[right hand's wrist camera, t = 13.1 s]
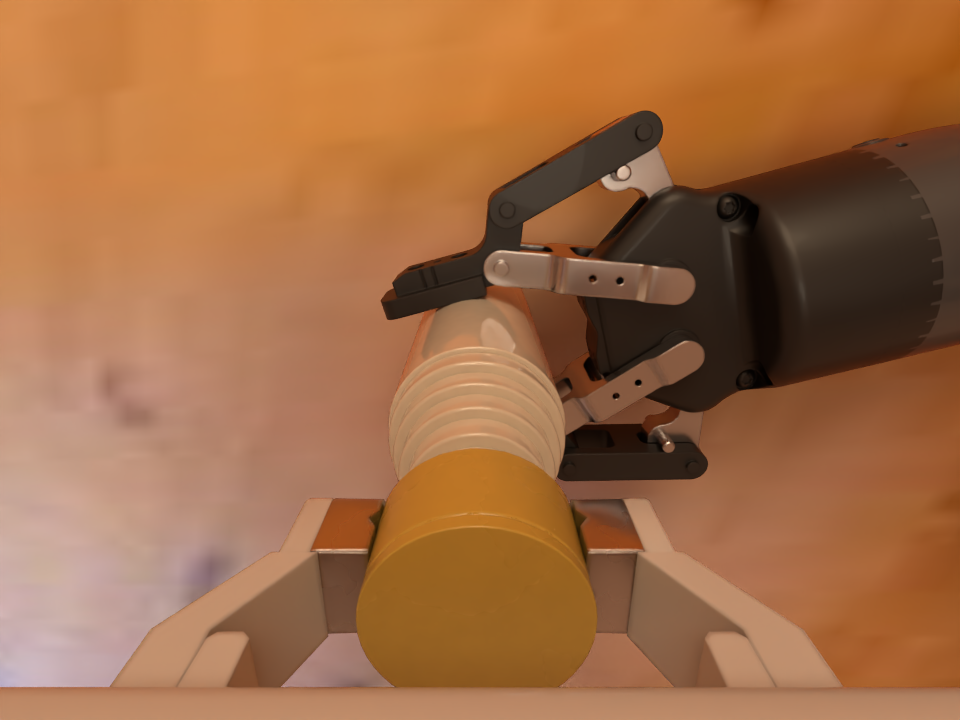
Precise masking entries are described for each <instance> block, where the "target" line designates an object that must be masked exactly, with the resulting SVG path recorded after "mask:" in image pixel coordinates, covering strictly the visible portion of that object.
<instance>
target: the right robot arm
mask: <svg viewBox="0 0 960 720" xmlns="http://www.w3.org/2000/svg"><path fill="white" fill-rule="evenodd" d="M385 503H386V502H385V500H384V499H347V498H335V499H333V498H310V499H308V500H307V501H306V502H305V503H304V505H303V507H302V509H301V511H300V513H299V515H298V517H297V519H296V521H295V522H294V524H293V526H292V528H291V530H290V532H289V534H288V536H287V538H286V540H285V542H284V543H283V545H282V547H281V549H280V551H279V552H271V553H269V554H267V555H266V556H264V557H263V558H261V559H260V560H258V561H257V562H255V563H253V564H252V565H250V566H249V567H247V568H246V569H244V570H242V571H241V572H239V573H238V574H236V575H235V576H233V577H232V578H230V579H228V580H227V581H225V582H224V583H222V584H221V585H219V586H217V587H216V588H214V589H213V590H211V591H210V592H208V593H207V594H205V595H203V596H202V597H200V598H199V599H197V600H196V601H194V602H192V603H191V604H189V605H188V606H186V607H185V608H183V609H182V610H180V611H178V612H177V613H175V614H174V615H172V616H171V617H169V618H167V619H166V620H164V621H163V622H161V623H160V624H158V625H157V626H155V627H153V628H152V629H151V630H150V631H149V632H148V634H147V635H146V637H145V638H144V639H143V641H142V642H141V644H140V645H139V646H138V648H137V649H136V651H135V652H134V653H133V655H132V656H131V658H130V659H129V660H128V662H127V663H126V665H125V666H124V667H123V669H122V670H121V672H120V673H119V674H118V676H117V677H116V679H115V680H114V681H113V683H112V684H111V686H110V687H0V720H960V687H843V686H842V684H841V683H840V681H839V680H838V679H837V677H836V676H835V674H834V673H833V671H832V670H831V668H830V667H829V666H828V664H827V663H826V661H825V660H824V658H823V657H822V655H821V654H820V653H819V651H818V650H817V648H816V647H815V645H814V644H813V643H812V641H811V640H810V638H809V637H808V635H807V634H806V632H805V631H804V630H803V629H801V628H800V627H798V626H797V625H795V624H794V623H792V622H791V621H789V620H788V619H786V618H785V617H783V616H781V615H780V614H778V613H777V612H775V611H774V610H772V609H771V608H769V607H768V606H766V605H764V604H763V603H761V602H760V601H758V600H757V599H755V598H754V597H752V596H751V595H749V594H747V593H746V592H744V591H743V590H741V589H740V588H738V587H737V586H735V585H734V584H732V583H731V582H729V581H727V580H726V579H724V578H723V577H721V576H720V575H718V574H717V573H715V572H714V571H712V570H710V569H709V568H707V567H706V566H704V565H703V564H701V563H700V562H698V561H697V560H695V559H694V558H692V557H690V556H689V555H687V554H686V553H684V552H676V551H675V549H674V547H673V545H672V544H671V542H670V540H669V538H668V536H667V534H666V532H665V530H664V528H663V526H662V524H661V522H660V520H659V518H658V516H657V514H656V513H655V511H654V509H653V507H652V505H651V503H650V501H649V500H648V499H646V498H625V499H601V500H571V501H570V506H571V510H572V514H573V518H574V522H575V525H576V529H577V533H578V536H579V540H580V544H581V548H582V552H583V556H584V559H585V563H586V567H587V571H588V574H589V578H590V582H591V586H592V590H593V593H594V597H595V601H596V605H597V615H598V620H597V630H596V633H626V634H627V636H628V637H629V638H630V639H631V641H632V642H633V643H634V644H635V645H636V646H637V647H638V648H639V649H640V650H641V651H642V652H643V654H644V655H645V656H646V657H647V658H648V659H649V660H650V661H651V662H652V663H653V664H654V665H655V667H656V668H657V669H658V670H659V671H660V672H661V673H662V674H663V675H664V676H665V677H666V678H667V680H668V681H669V682H670V683H671V684H672V685H673V686H674V687H281V686H282V685H283V684H284V683H285V682H286V681H287V680H288V679H289V677H290V676H291V675H292V674H293V673H294V672H295V671H296V670H297V669H298V668H299V667H300V666H301V665H302V664H303V662H304V661H305V660H306V659H307V658H308V657H309V656H310V655H311V654H312V653H313V652H314V651H315V650H316V649H317V648H318V646H319V645H320V644H321V643H322V642H323V641H324V640H325V639H326V638H327V637H328V634H329V633H357V627H356V607H357V602H358V597H359V594H360V590H361V586H362V584H363V579H364V576H365V572H366V569H367V565H368V562H369V559H370V555H371V552H372V548H373V545H374V541H375V538H376V533H377V529H378V526H379V523H380V520H381V516H382V513H383V509H384V506H385Z"/></svg>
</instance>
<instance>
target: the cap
mask: <svg viewBox="0 0 960 720" xmlns="http://www.w3.org/2000/svg"><path fill="white" fill-rule="evenodd" d="M597 620H598V615H597V605H596V601H595V597H594V593H593V590H592V586H591V582H590V578H589V574H588V571H587V567H586V563H585V559H584V556H583V552H582V548H581V544H580V540H579V536H578V533H577V529H576V525H575V522H574V518H573V514H572V510H571V506H570V504H569V502H568V500H567V498H566V496H565V494H564V493H563V491H562V489H561V488H560V486H559V485H558V484H557V483H556V482H555V481H554V480H553V478H552V477H550V476H549V475H548V474H547V473H546V472H545V471H544V470H542V469H541V468H539V467H538V466H537V465H535V464H534V463H532V462H530V461H528V460H526V459H523V458H521V457H519V456H516V455H513V454H511V453H509V452H505V451H498V450H492V449H479V448H474V449H473V448H470V449H463V450H455V451H451V452H448V453H443V454H439V455H437V456H436V457H433V458H431V459H429V460H427V461H425V462H423V463H421V464H420V465H418V466H416V467H415V468H414V469H412V470H411V471H410V472H408V473H407V474H406V475H405V476H404V477H403V478H402V479H401V480H400V481H399V482H398V484H397V485H396V486H395V487H394V489H393V490H392V492H391V493H390V495H389V497H388V499H387V501H386V503H385V506H384V509H383V513H382V516H381V520H380V523H379V526H378V529H377V533H376V538H375V541H374V545H373V548H372V552H371V555H370V559H369V562H368V565H367V569H366V572H365V576H364V579H363V584H362V586H361V590H360V594H359V597H358V602H357V607H356V627H357V634H358V637H359V640H360V643H361V646H362V648H363V650H364V652H365V654H366V656H367V658H368V659H369V661H370V662H371V664H372V665H373V667H374V668H375V669H376V670H377V671H378V672H379V673H380V674H381V676H382V677H384V678H385V679H386V680H387V681H388V682H390V683H391V684H392V685H393V686H395V687H559V686H560V685H562V684H563V683H564V682H565V681H567V680H568V679H569V678H570V677H571V676H572V675H573V674H574V673H575V672H576V671H577V670H578V668H579V667H580V666H581V665H582V663H583V662H584V660H585V659H586V657H587V655H588V654H589V652H590V649H591V647H592V645H593V642H594V638H595V634H596V630H597Z"/></svg>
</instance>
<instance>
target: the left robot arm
mask: <svg viewBox="0 0 960 720" xmlns="http://www.w3.org/2000/svg"><path fill="white" fill-rule="evenodd" d="M662 134H663V125H662V122H661V120H660V118H659V117H658V116H657V115H656V114H655V113H653V112H651V111H640V112H637V113H634V114H631V115H627V116H624V117H621V118H618V119H616V120H615V121H613V122H611V123H609V124H608V125H606V126H604V127H602V128H601V129H599V130H597V131H596V132H594V133H592V134H590V135H589V136H587V137H585V138H584V139H582V140H580V141H578V142H577V143H575V144H573V145H572V146H570V147H568V148H566V149H565V150H563V151H561V152H560V153H558V154H556V155H554V156H553V157H551V158H549V159H548V160H546V161H544V162H542V163H541V164H539V165H537V166H536V167H534V168H532V169H530V170H529V171H527V172H525V173H523V174H522V175H520V176H518V177H517V178H515V179H513V180H511V181H510V182H508V183H506V184H505V185H503V186H501V187H499V188H498V189H496V190H495V191H493V192H492V193H491V195H490V197H489V199H488V209H487V220H486V231H485V235H484V238H483V240H482V241H481V243H480V244H479V245H478V246H476V247H475V248H473V249H471V250H467V251H464V252H460V253H456V254H453V255H449V256H445V257H442V258H438V259H435V260H431V261H427V262H424V263H420V264H416V265H412V266H409V267H408V268H406V269H405V270H404V271H403V272H401V273H400V274H399V275H398V276H397V277H396V278H395V280H394V281H393V283H392V284H393V287H394V289H391V290H389V291H388V292H387V293H386V294H385V295H384V297H383V298H382V300H381V303H382V306H383V309H384V312H385V314H386V317H387V319H388V320H394V319H398V318H402V317H406V316H410V315H413V314H417V313H421V312H425V311H429V310H432V309H436V308H440V307H444V306H448V305H451V304H453V303H457V302H460V301H465V300H470V299H474V298H478V297H482V296H486V295H487V287H490V286H493V285H496V286H505V287H518V288H530V289H543V290H549V291H552V292H555V293H559V294H565V295H577V299H578V302H579V304H580V306H581V308H582V310H583V311H584V313H585V315H586V317H587V330H586V342H587V346H588V352H587V353H585V354H584V355H582V356H580V357H579V358H577V359H576V360H574V361H572V362H571V363H570V364H569V365H568V366H567V367H566V368H565V370H564V372H563V373H562V374H560V375H559V376H557V377H556V378H554V381H555V384H556V387H557V390H558V392H559V395H560V398H561V401H562V404H563V408H564V412H565V421H566V428H565V436H566V437H565V450H564V455H563V459H562V462H561V465H560V468H559V472H558V475H557V477H558V478H559V479H561V480H563V481H609V480H671V479H695V478H698V477H700V476H701V475H702V474H704V472H705V471H706V469H707V467H708V461H707V459H706V457H705V456H704V455H703V453H702V452H701V450H700V448H699V440H700V433H701V426H702V419H703V412H704V411H706V410H709V409H711V408H713V407H714V406H716V405H717V404H718V403H719V402H721V401H722V400H723V399H725V398H726V397H728V396H730V395H731V394H734V393H736V392H738V391H741V390H747V389H760V388H774V387H781V386H786V385H790V384H794V383H798V382H802V381H807V380H811V379H815V378H819V377H823V376H828V375H832V374H836V373H840V372H845V371H849V370H853V369H857V368H862V367H866V366H870V365H874V364H879V363H883V362H887V361H891V360H896V359H900V358H904V357H908V356H912V355H917V354H921V353H925V352H929V351H933V350H937V349H942V348H946V347H950V346H954V345H958V344H960V124H956V125H949V126H943V127H936V128H931V129H926V130H921V131H917V132H913V133H909V134H905V135H901V136H897V137H894V138H890V139H889V138H884V139H880V138H878V139H874V140H870V141H867V142H864V143H861V144H858V145H855V146H853V147H852V148H851V149H849V150H846V151H842V152H839V153H835V154H832V155H828V156H825V157H821V158H817V159H813V160H810V161H806V162H802V163H799V164H795V165H791V166H788V167H784V168H780V169H777V170H773V171H769V172H766V173H762V174H758V175H755V176H751V177H747V178H744V179H740V180H736V181H733V182H729V183H725V184H722V185H718V186H714V187H710V188H705V189H692V188H689V187H686V186H677V185H674V184H673V182H672V180H671V177H670V175H669V172H668V170H667V167H666V165H665V162H664V160H663V157H662V155H661V153H660V150H659V148H658V144H659V142H660V140H661V138H662ZM594 182H597V184H598V185H599V186H600V187H601V188H603V189H605V190H610V191H615V192H619V191H623V190H625V189H628V188H633V189H635V190H636V191H637V192H638V193H639V194H640V196H641V197H640V198H639V199H638V200H637V201H636V203H635V204H634V205H633V206H632V207H631V208H630V209H629V211H628V212H627V213H626V214H625V215H624V216H623V217H622V219H621V220H620V221H619V222H618V223H617V224H616V225H615V226H614V228H613V229H612V230H611V231H610V232H609V233H608V234H607V236H606V237H605V238H604V239H603V240H602V241H601V242H600V244H599V245H598V246H597V247H595V246H583V245H571V244H559V243H547V244H537V243H525V242H521V237H522V228H523V222H525V221H527V220H529V219H530V218H532V217H534V216H536V215H537V214H539V213H541V212H543V211H545V210H546V209H548V208H550V207H552V206H553V205H555V204H557V203H559V202H561V201H562V200H564V199H566V198H568V197H569V196H571V195H573V194H575V193H576V192H578V191H580V190H582V189H584V188H585V187H587V186H589V185H591V184H592V183H594ZM643 397H646V398H648V399H651V400H654V401H657V402H659V403H662V404H665V405H668V406H670V407H669V409H668V410H666V411H665V412H663V413H661V414H657V415H648V416H647V417H646V418H645V421H644V422H643V424H599V425H584V424H586V423H588V422H595V423H598V422H602V421H604V420H606V419H608V418H609V417H611V416H613V415H614V414H616V413H618V412H619V411H621V410H623V409H624V408H626V407H628V406H630V405H631V404H633V403H635V402H636V401H638V400H640V399H641V398H643Z"/></svg>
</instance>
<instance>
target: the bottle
mask: <svg viewBox="0 0 960 720" xmlns="http://www.w3.org/2000/svg"><path fill="white" fill-rule="evenodd" d="M565 428H566V421H565V412H564V408H563V404H562V401H561V398H560V395H559V392H558V390H557V387H556V384H555V381H554V378H553V375H552V373H551V370H550V367H549V364H548V361H547V358H546V356H545V353H544V350H543V347H542V344H541V341H540V338H539V336H538V333H537V330H536V327H535V324H534V321H533V319H532V316H531V313H530V310H529V307H528V304H527V301H526V299H525V296H524V293H523V291H522V289H521V288H518V287H505V286H496V285H493V286H490V287H487V295H486V296H482V297H478V298H474V299H470V300H465V301H460V302H457V303H453V304H451V305H448V306H444V307H440V308H436V309H432V310H429V311H425V312H424V314H423V317H422V320H421V323H420V326H419V328H418V331H417V334H416V337H415V340H414V342H413V345H412V348H411V351H410V354H409V356H408V359H407V362H406V365H405V368H404V370H403V373H402V376H401V379H400V382H399V385H398V387H397V390H396V393H395V396H394V399H393V401H392V404H391V408H390V413H389V421H388V430H389V437H388V442H389V451H390V455H391V459H392V462H393V465H394V469H395V473H396V476H397V479H398V481H400V480H401V479H402V478H403V477H404V476H405V475H406V474H407V473H408V472H410V471H411V470H412V469H414V468H415V467H416V466H418V465H420V464H421V463H423V462H425V461H427V460H429V459H431V458H433V457H436V456H437V455H439V454H443V453H448V452H451V451H455V450H463V449H470V448H473V449H474V448H479V449H492V450H498V451H505V452H509V453H511V454H513V455H516V456H519V457H521V458H523V459H526V460H528V461H530V462H532V463H534V464H535V465H537V466H538V467H539V468H541V469H542V470H544V471H545V472H546V473H547V474H548V475H549V476H550V477H552V478H553V480H554V481H556V478H557V475H558V472H559V468H560V465H561V462H562V459H563V455H564V450H565V437H566V436H565Z"/></svg>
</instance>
